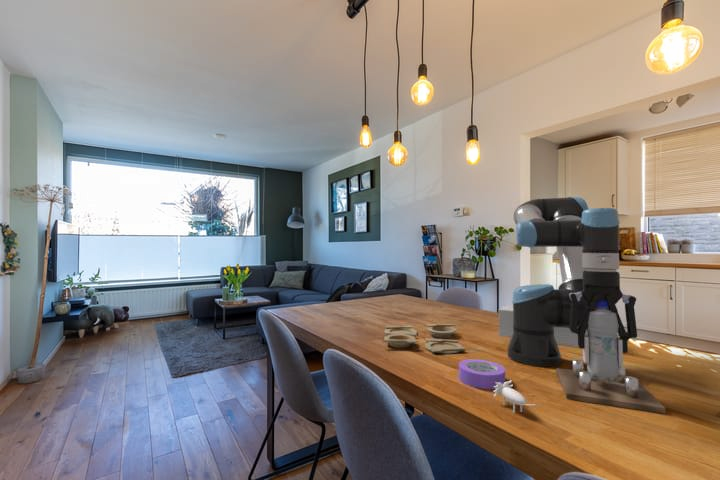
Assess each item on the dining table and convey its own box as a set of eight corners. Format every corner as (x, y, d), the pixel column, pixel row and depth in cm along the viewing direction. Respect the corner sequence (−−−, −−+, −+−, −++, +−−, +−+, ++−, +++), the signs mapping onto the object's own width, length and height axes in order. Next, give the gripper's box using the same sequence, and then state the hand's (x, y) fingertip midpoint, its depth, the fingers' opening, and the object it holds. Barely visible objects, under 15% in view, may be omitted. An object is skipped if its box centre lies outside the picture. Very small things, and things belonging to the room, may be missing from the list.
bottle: (580, 374, 86) (578, 296, 86) (604, 373, 87) (603, 296, 87) (601, 385, 79) (599, 300, 80) (627, 384, 80) (625, 300, 80)
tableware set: (385, 329, 148) (385, 319, 148) (454, 331, 144) (453, 321, 144) (378, 353, 113) (378, 341, 113) (468, 357, 109) (468, 345, 109)
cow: (488, 399, 78) (488, 379, 78) (508, 397, 79) (508, 377, 79) (524, 426, 66) (524, 402, 66) (547, 423, 67) (547, 399, 67)
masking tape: (512, 380, 90) (512, 366, 90) (494, 394, 81) (494, 378, 81) (470, 369, 98) (470, 356, 98) (450, 380, 89) (450, 366, 89)
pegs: (580, 390, 80) (580, 373, 80) (571, 373, 90) (571, 359, 90) (640, 398, 75) (639, 380, 75) (623, 380, 86) (623, 364, 86)
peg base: (566, 398, 78) (566, 393, 78) (556, 372, 95) (556, 368, 95) (665, 413, 71) (665, 408, 71) (635, 382, 87) (635, 377, 88)
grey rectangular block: (498, 336, 135) (498, 309, 135) (505, 330, 143) (505, 305, 144) (595, 350, 116) (595, 319, 116) (596, 343, 124) (596, 314, 125)
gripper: (558, 270, 84) (560, 363, 83) (655, 272, 76) (657, 374, 76) (554, 268, 91) (555, 354, 90) (643, 270, 83) (645, 363, 83)
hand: (602, 363), depth 83 cm, fingers closed on bottle, 6 cm apart
